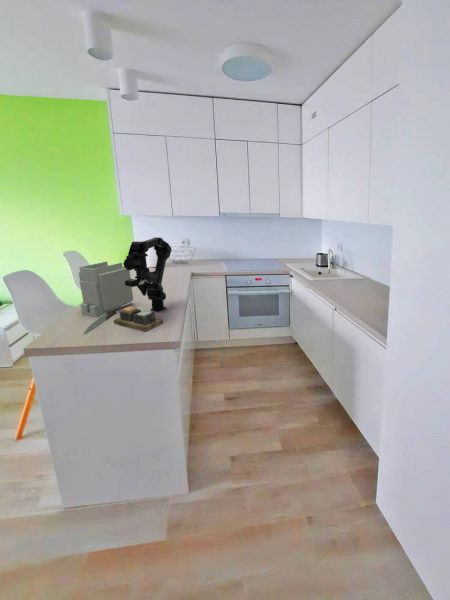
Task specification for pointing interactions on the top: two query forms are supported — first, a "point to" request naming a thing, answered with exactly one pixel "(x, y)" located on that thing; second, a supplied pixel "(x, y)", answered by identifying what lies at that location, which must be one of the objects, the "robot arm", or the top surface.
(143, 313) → the grey button
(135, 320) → the button board
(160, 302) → the robot arm
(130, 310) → the terracotta button
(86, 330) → the kitchen knife
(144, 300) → the top surface
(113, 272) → the toaster
